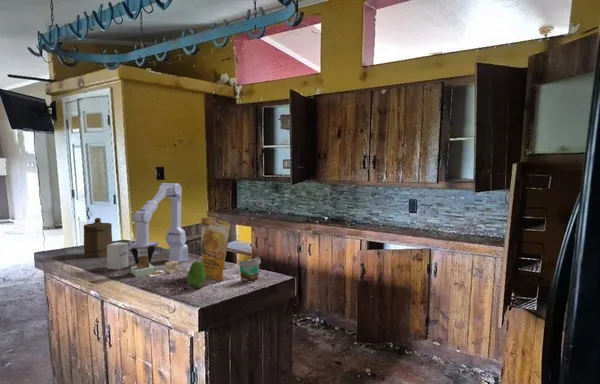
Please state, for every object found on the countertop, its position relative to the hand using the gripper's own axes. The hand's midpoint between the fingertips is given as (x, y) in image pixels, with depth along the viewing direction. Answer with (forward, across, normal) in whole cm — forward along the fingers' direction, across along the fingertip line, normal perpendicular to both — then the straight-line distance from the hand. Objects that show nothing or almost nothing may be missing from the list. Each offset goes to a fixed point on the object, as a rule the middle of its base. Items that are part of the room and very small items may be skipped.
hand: (143, 262), depth 182 cm
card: (+6, +5, -4) cm, 9 cm away
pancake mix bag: (+6, +25, -26) cm, 37 cm away
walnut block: (+2, 0, 0) cm, 2 cm away
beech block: (+6, +12, -6) cm, 15 cm away
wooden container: (+6, -9, +56) cm, 57 cm away
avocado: (+6, +12, -36) cm, 38 cm away
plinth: (+5, 0, 0) cm, 5 cm away
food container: (+6, +37, -42) cm, 56 cm away
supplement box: (+6, -7, +19) cm, 21 cm away
